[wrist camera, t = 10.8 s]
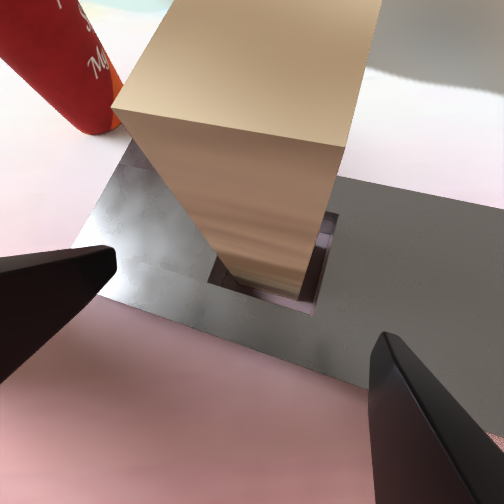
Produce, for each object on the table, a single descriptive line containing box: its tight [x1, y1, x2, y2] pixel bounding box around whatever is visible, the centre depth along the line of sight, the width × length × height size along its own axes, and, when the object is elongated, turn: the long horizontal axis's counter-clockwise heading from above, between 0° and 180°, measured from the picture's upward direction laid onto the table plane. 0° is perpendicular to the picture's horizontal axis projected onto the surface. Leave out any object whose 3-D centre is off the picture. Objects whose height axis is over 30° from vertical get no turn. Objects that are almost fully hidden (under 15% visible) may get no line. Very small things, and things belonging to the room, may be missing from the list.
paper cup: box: [0, 0, 124, 135], centre depth 18 cm, size 8×8×14 cm
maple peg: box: [111, 0, 382, 301], centre depth 11 cm, size 4×4×14 cm
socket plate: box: [72, 138, 504, 438], centre depth 17 cm, size 11×24×3 cm, turn 72°
